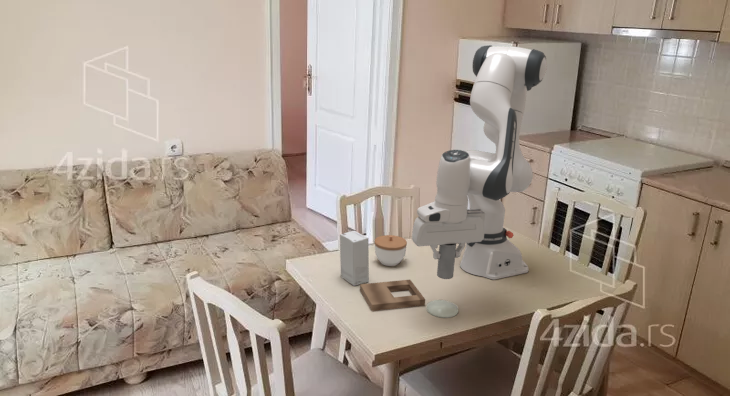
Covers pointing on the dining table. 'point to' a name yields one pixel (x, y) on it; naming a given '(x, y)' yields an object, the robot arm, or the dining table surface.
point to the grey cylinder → (446, 261)
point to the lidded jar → (390, 249)
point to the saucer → (442, 308)
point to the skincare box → (354, 257)
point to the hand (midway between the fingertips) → (446, 257)
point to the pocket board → (383, 299)
